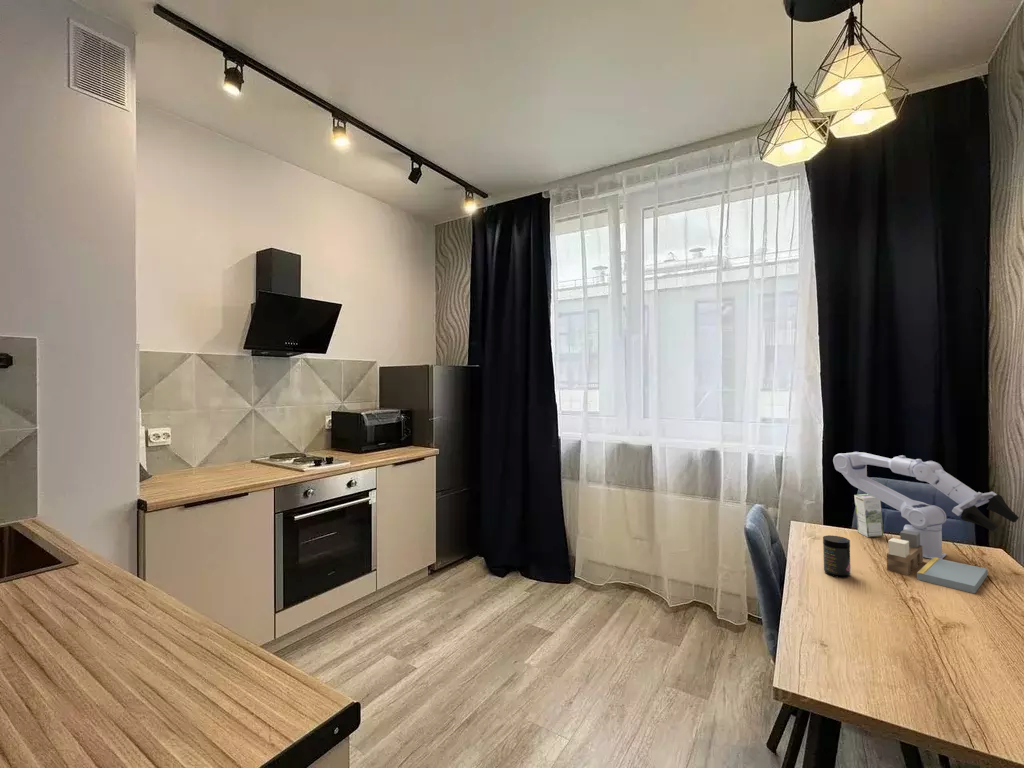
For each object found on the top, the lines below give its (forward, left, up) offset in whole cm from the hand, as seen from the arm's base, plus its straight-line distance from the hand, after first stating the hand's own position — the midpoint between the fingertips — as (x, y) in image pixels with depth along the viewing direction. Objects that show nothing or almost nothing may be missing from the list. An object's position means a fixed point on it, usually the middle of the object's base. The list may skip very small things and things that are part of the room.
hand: (1006, 524), depth 135 cm
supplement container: (-32, -32, -15) cm, 48 cm away
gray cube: (-21, -4, -10) cm, 24 cm away
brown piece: (-21, -10, -15) cm, 28 cm away
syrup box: (-37, +16, -15) cm, 43 cm away
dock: (-10, -11, -15) cm, 21 cm away
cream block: (-21, -16, -10) cm, 28 cm away
